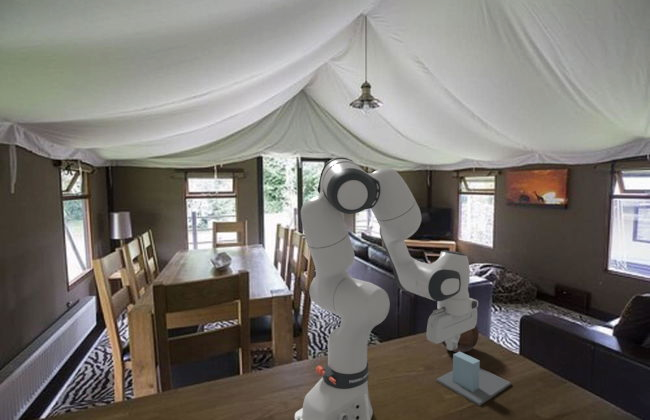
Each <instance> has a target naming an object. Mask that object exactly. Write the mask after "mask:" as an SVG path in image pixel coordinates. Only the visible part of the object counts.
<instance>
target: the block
mask: <svg viewBox="0 0 650 420" xmlns="http://www.w3.org/2000/svg"><path fill="white" fill-rule="evenodd" d="M480 363H481V361H480V360H479V359H477V358H475V357H473V356H471V355H468V354H466V353H465V352H460V351H459V352H455V353H453V355H452V370H453V382H455V383H457V384H459V385H460V386H462V387H464V388H466V389H468V390H470V391H471V392H474V391H475V390H477V389H478V388H479V369H480V368H481V367H480V366H481V365H480Z"/></svg>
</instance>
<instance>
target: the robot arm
mask: <svg viewBox="0 0 650 420" xmlns="http://www.w3.org/2000/svg"><path fill="white" fill-rule="evenodd" d="M317 192H318V195H317V196H314V197H311V198H309V199H307V200H306V202H304V204H303V205H302V206H301V209H300V219H301V224H302V231H303V235H304V236H305V237H304V238H305V241H306V243H307V247H308V249H309V253H310V255H311V259H312V261H313V264H314V268H315V276H314V277H313V279H312V281H311V283H310V285H309V298H310V299H311V301H312V302H313V303H314V304H316V305H317V306H318V307H319V308H321V309H323V311H327V312H330V313H332V314H334V315H337V316H339V318H340V321H341V322H340V326H339V327H336V328H334V330H332V331H331V333H330V334H329V336H328V337H327V362H326V363H325V367H324V368H323V367H322V365H318V366H316V368H315V372H316V373H317V374H318V375H319V376H321V378H320V379H319V380H318V382H317V383H316V384H315V385H314V386H313V387H312V388H311V389H310V390H309V391H308V392H307V394H306V395H305V396H304V400H303V404H302V407H301V408H300V409H298V410H297V411H296V412H295V413H294V420H372V418H373V414H374V413H373V412H374V411H373V407H372V403H371V399H370V395H369V394H370V393H369V386H368V383H369V382H368V379H369V374H370V373H369V363H368V343H369V337H370V334H371V331H372V330H373V329H374V328H375V327H377V326H378V325H379V324H382V322H383V321H385V320H386V318H387V316H388V314H389V311H390V307H391V305H390V297H389V294H388V293H387V291H386V290H385V289H383V288H382V287H380V286H379V285H376V284H374V283H372V282H371V281H366V280H362V279H358V278H354V277H352V276H351V275H350V274H349V272H348V270H349V269H350V267H352V265H353V263H354V262H355V261H354V260H355V250H354V248H353V244H352V243H353V242H352V240H351V238H350V235H349V231H348V228H347V224H346V221H345V214H347V215H354V214H358V213H361V212H363V211H365V210H368V209H369V210H370V211H372V213H373V216H374V218H375V219H376V220H377V223H378V225H379V235H380V239H381V242H382V245H383V246H384V249H385V252H386V254H387V256H388V257H387V258H388V259H389V262H390V264H391V267H392V272H393V278H394V282H395V284H396V286H397V287H398V288H399V290H402V291H404V292H408V293H412V294H415V295H417V296H420V297H422V298H426V299H429V300H432V301H435V302H436V303H437V309H434V310H432V313H431V314H430V315H429V317H428V319H427V324H426V325H427V327H426V339H427V340H428V341H429V342H431V343H433V344H436V345H438V344H441V343H442V342H443V341H445V342H446V343H447V347H446V349H447V350H448V351H451V352H452V350H454V349H456V348H457V344H458V341H459V338H460V334H462V333H464V332H466V331H468V330H471V329H473V328H475V326H476V325H477V323H478V322H477V321H478V307H479V301H478V300H477V299H474V298H472V297H470V293H469V285H470V283H471V282H470V281H471V280H470V277H471V275H470V273H471V272H470V261H469V258H468V256H467V255H466V254H465V253H464V252H458V251H453V250H446V249H445V250H442V251H440V254H439V257H438V258H437V260H435V261H434V262H432V263H431V264H430V263H427V262H423V261H419V260H418V259H415V258H414V257H412V256H411V254H410V252H409V250H408V247H407V244H406V241H405V240H407V239H408V238H409V239H410V237H412V236H413V235H414V234H415V233H416V232H417V231H418V229H419V228H420V225H421V223H422V219H423V218H422V213H421V209H420V206H419V205H418V202H417V201H416V199H415V197H414V195H413V192H412V191H411V190H410V188H409V185H408V184H407V183H406V182H405V180H404V178H403V177H402V176H401V175H400V174H399V172H398V171H397V170H395V168H390V167H384V168H378V169H376V170H375V171H373V172H366V171H365V170H364V169H363V168H362V167H361V166H360V165H359V164H357V163H356V162H354V161H353V160H352V159H349V158H348V157H341V156H339V157H334V158H332V159H330V160H329V161H327V162H326V163H325V164H324V166H323V167H322V170H321V173H320V177H319V182H318V186H317Z"/></svg>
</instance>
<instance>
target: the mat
mask: <svg viewBox="0 0 650 420" xmlns="http://www.w3.org/2000/svg"><path fill="white" fill-rule="evenodd" d="M435 380H436V382H437V383H439V384H440V385H442V386H444V387H446V388H447V389H449V390H451V391H453V392H455V393H456V394H457V395H460V396H461V397H463V398H465V399H467V400H469V401H470V402H472V403H474V404H475V405H476V406H479V407H480V406H482V405H483V404H485V403H486V402H488V401H489V400H490V399H492V398H493V397H495V396H496V395H498V394H500V392H502V391H504V390H505V389H508V387H509V386H511V384H512V382H511V381H508V380H506V379H504V378H502V377H500V376H498V375H496V374H494V373H492V372H490V371H488V370H485V369H484V368H481V367H480V369H479V388H478V389H477V390H475V391H474V392H471V391H470V390H468V389H466V388H464V387H462V386H460V385H459V384H457V383H455V382H453V369H452V370H450V371H448V372H447V373H444V374H443V375H441V376H439V377H437V378H436V379H435Z"/></svg>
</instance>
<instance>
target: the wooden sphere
mask: <svg viewBox="0 0 650 420" xmlns="http://www.w3.org/2000/svg"><path fill="white" fill-rule="evenodd" d="M479 334H480V333H479V328H478V326H477V324H476V326H475V328H473V329H471V330H468V331H466V332H464V333H462V334H460V338H459V341H458V344H457V348H456V349H454V350H451V352H455V353H457V352H459V351H460V352H462V353H466V352H469V351H471V350H472V349H474V348H475V347H476V345H477V343H478V340H479V336H480V335H479ZM441 343H442V345H443V346H444V347H445V348H447V343H446V342H445V341H443V342H441Z"/></svg>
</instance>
